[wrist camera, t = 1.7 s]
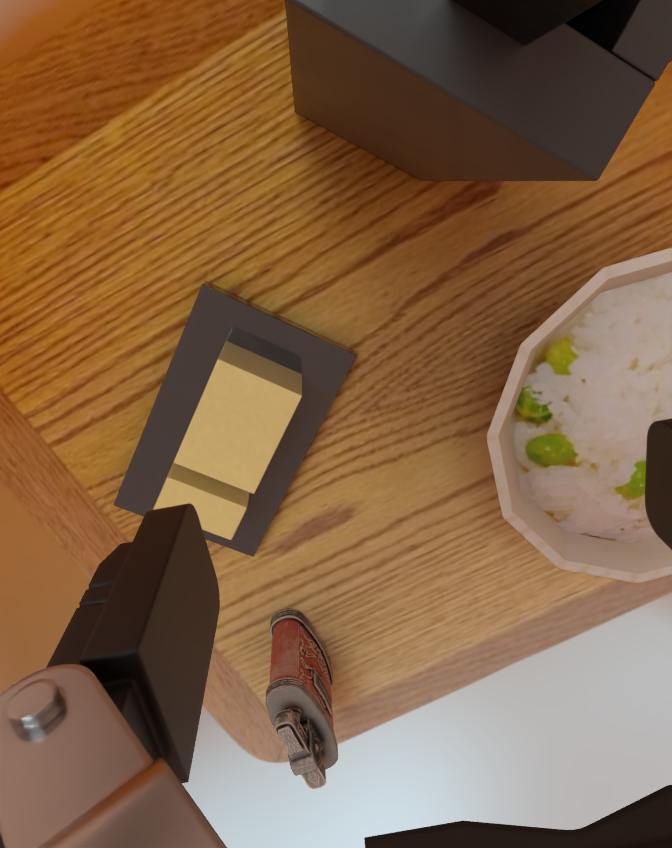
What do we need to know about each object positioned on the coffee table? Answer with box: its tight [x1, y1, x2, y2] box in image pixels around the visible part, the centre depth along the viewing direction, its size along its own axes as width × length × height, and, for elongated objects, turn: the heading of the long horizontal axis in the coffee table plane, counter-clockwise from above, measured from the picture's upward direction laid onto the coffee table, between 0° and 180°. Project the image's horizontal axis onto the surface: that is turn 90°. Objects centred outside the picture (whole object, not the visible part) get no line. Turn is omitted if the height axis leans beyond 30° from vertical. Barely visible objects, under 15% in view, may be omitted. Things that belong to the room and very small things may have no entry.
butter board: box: [114, 281, 356, 556], centre depth 37 cm, size 10×16×5 cm, turn 154°
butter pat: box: [153, 463, 249, 540], centre depth 37 cm, size 5×2×4 cm, turn 64°
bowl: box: [486, 248, 672, 583], centre depth 35 cm, size 19×19×10 cm
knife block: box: [285, 0, 672, 181], centre depth 22 cm, size 8×7×22 cm
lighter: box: [266, 609, 338, 789], centre depth 42 cm, size 8×3×10 cm, turn 21°
